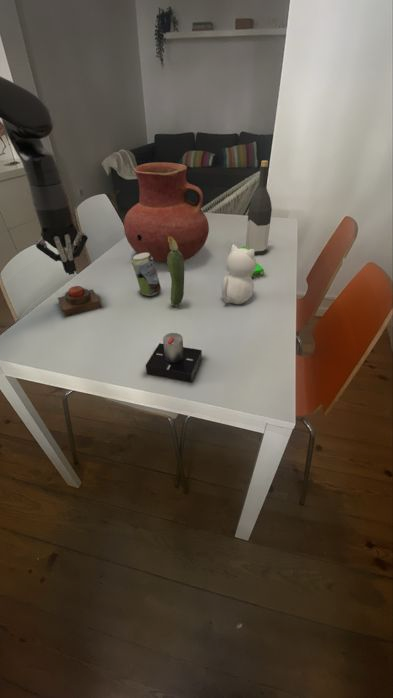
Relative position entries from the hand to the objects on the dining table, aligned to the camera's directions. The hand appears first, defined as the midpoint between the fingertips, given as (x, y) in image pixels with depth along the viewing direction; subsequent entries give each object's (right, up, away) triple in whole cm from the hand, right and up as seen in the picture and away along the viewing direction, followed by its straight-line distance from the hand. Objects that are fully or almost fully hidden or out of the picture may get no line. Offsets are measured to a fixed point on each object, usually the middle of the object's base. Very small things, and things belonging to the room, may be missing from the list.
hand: (71, 273), depth 85 cm
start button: (0, -5, +4) cm, 6 cm away
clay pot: (+23, +14, +33) cm, 43 cm away
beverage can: (+19, -3, +12) cm, 23 cm away
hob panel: (+29, -24, -16) cm, 41 cm away
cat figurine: (+45, -6, +7) cm, 46 cm away
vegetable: (+29, -9, +5) cm, 30 cm away
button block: (0, -8, +6) cm, 10 cm away
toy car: (+50, +6, +22) cm, 55 cm away
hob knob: (+29, -22, -17) cm, 40 cm away
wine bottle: (+56, +17, +36) cm, 69 cm away
